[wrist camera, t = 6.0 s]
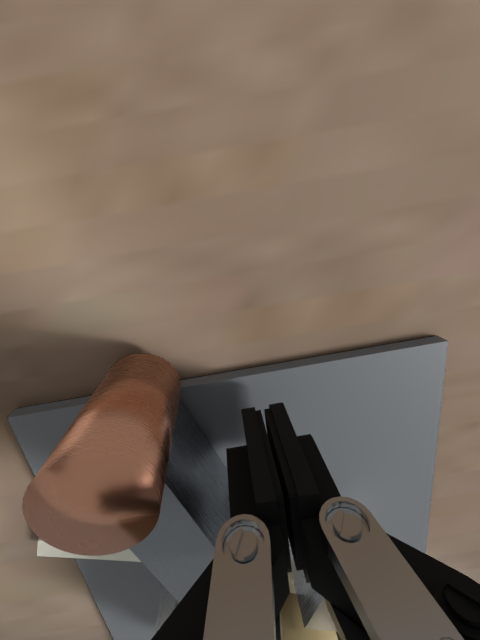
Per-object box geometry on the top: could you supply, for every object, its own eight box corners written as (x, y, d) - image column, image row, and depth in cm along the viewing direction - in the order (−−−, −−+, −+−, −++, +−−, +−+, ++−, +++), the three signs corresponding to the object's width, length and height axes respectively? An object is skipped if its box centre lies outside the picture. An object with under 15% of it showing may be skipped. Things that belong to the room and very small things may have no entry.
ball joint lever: (381, 582, 16) (452, 729, 11) (222, 648, 17) (227, 817, 12) (247, 298, 10) (279, 360, 5) (5, 413, 11) (-158, 564, 6)
